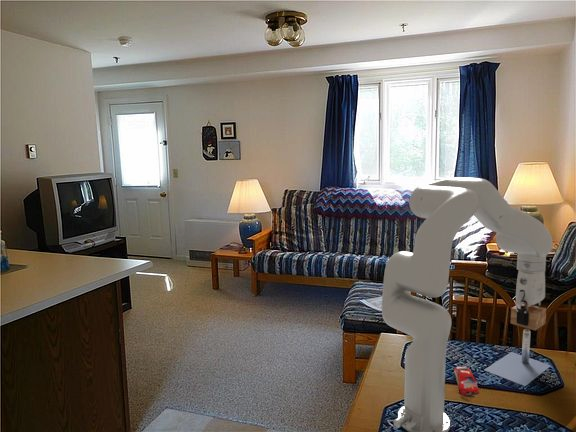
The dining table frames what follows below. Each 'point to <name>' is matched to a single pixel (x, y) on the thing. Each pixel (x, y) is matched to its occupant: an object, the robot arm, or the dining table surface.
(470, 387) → the race car
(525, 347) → the white rounded rod
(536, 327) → the light brown hollow block
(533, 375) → the grey flat plate
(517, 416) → the dining table surface
